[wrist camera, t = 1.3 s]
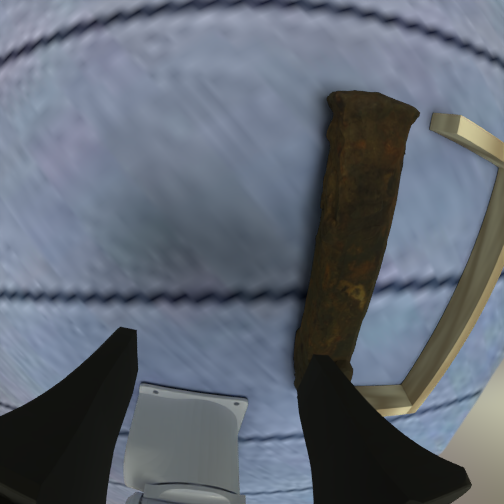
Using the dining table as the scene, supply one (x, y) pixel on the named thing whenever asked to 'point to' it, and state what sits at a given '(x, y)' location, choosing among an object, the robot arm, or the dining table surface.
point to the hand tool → (352, 222)
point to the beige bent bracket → (469, 287)
